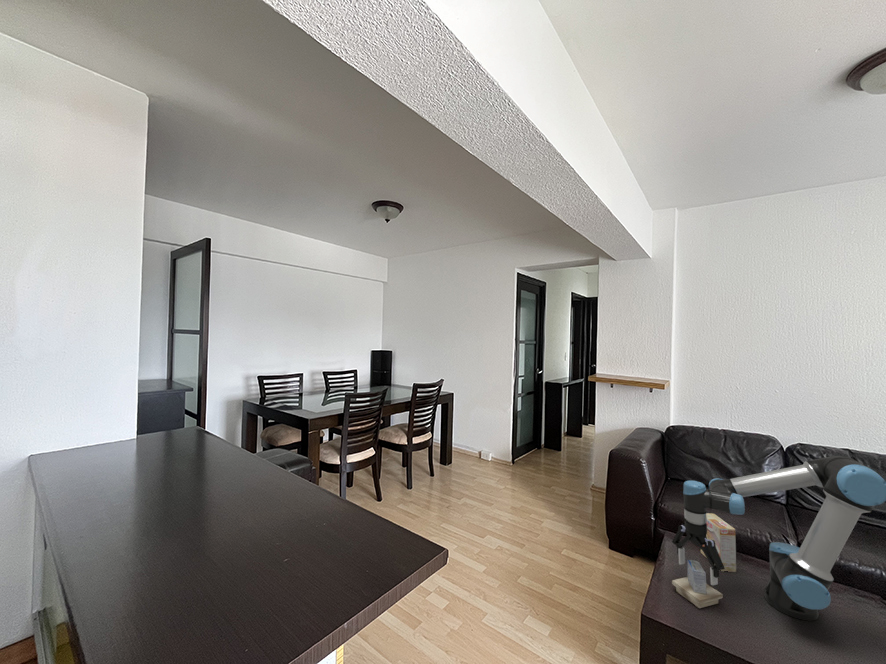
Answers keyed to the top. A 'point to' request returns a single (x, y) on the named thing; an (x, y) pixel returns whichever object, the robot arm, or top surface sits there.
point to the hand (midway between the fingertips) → (697, 573)
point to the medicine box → (696, 576)
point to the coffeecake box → (722, 540)
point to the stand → (697, 598)
